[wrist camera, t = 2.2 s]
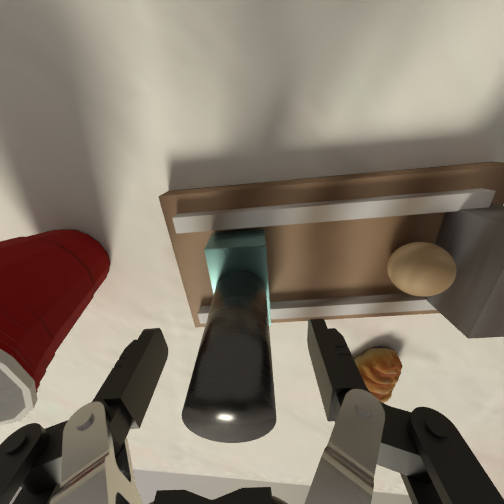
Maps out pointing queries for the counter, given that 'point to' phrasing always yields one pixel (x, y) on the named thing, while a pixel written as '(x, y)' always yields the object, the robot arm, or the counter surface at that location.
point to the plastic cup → (41, 307)
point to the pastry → (379, 371)
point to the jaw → (234, 344)
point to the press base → (355, 242)
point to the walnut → (421, 269)
